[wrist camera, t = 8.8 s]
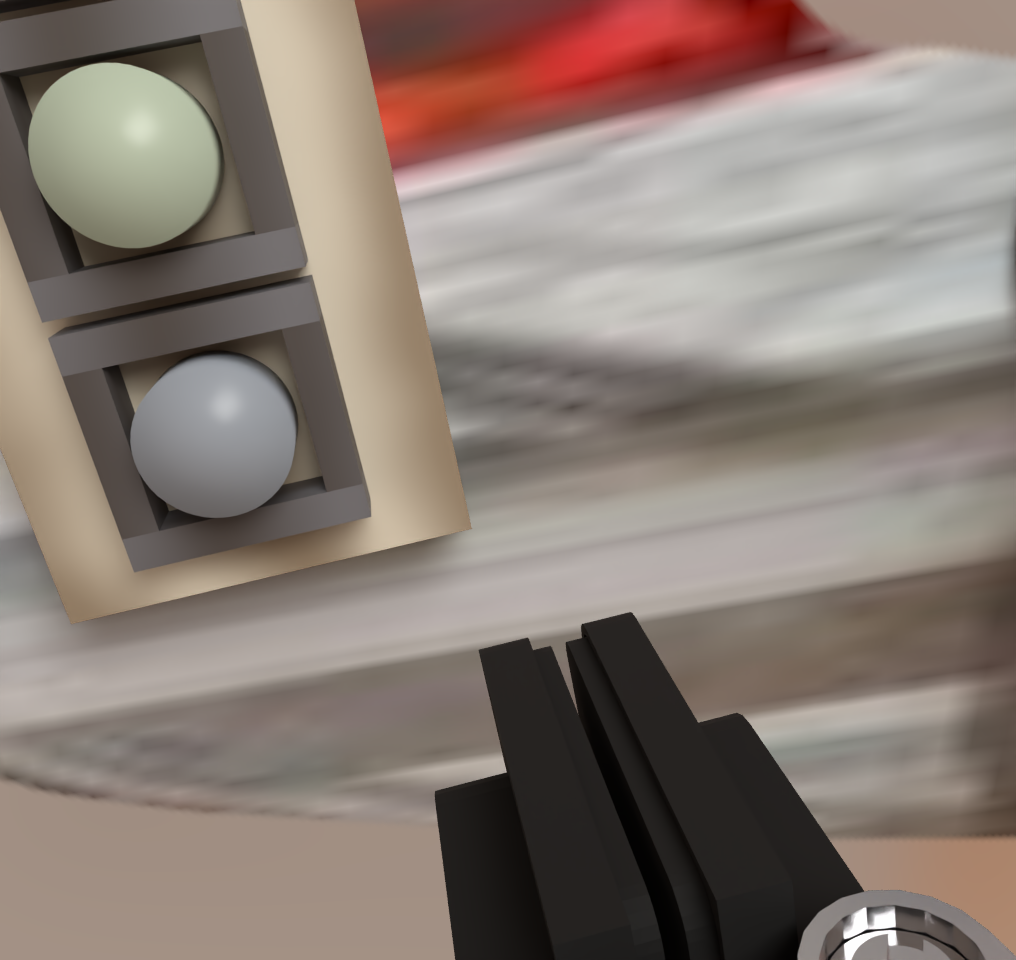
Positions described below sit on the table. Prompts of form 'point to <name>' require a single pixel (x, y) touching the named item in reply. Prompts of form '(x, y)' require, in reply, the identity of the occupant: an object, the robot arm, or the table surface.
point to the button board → (218, 306)
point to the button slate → (215, 434)
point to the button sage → (125, 155)
